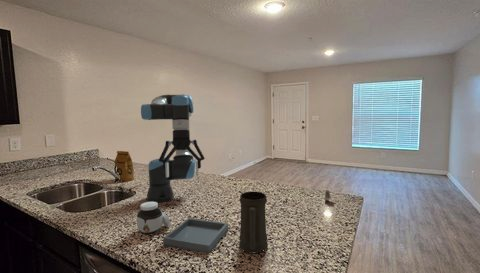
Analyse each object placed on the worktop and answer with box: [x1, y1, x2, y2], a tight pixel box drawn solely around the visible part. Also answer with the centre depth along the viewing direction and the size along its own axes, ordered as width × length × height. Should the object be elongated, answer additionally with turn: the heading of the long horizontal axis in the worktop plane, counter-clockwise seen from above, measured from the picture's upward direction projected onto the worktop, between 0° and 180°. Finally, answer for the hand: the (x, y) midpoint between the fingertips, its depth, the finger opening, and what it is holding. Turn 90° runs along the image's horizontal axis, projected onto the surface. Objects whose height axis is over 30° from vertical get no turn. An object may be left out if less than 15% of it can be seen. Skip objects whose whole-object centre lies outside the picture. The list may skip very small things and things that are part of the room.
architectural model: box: [324, 189, 333, 204], centre depth 140 cm, size 3×7×7 cm, turn 157°
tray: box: [162, 217, 229, 254], centre depth 103 cm, size 19×19×3 cm
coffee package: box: [114, 150, 135, 183], centre depth 190 cm, size 10×12×22 cm
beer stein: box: [238, 191, 269, 253], centre depth 93 cm, size 15×11×20 cm
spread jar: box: [136, 201, 171, 236], centre depth 110 cm, size 12×11×12 cm
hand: (182, 176), depth 116 cm, fingers open, 13 cm apart
